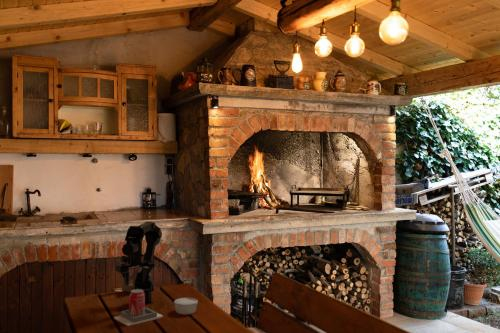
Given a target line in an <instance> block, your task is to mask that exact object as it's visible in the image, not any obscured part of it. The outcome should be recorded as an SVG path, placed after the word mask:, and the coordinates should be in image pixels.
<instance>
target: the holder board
mask: <svg viewBox="0 0 500 333" xmlns="http://www.w3.org/2000/svg"><path fill="white" fill-rule="evenodd" d="M162 318H164V315H162V314H161V313H158V312H157V311H155V310H153V309H151V308H148V307H147V306H145V312H144V315H141V316H137V317H133V316H131V315H129V309H126V310H125V309H124V310H121V311H120V315H116V316H114V317H113V319H114V320H115V321H117V322H120V323H121V324H123V325H125V326H126V327H131V326H135V325H138V324H143V323H146V322H147V323H148V322H150V321H155V320H158V319H162Z"/></svg>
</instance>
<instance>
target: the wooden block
mask: <svg viewBox="0 0 500 333" xmlns="http://www.w3.org/2000/svg"><path fill="white" fill-rule="evenodd" d="M126 265H130V264H126ZM141 270H142V267H139V268H136V270H134V271H133V272H132V273H131V269H129V270H128V271H127V272H129V279H128V286H126V284H125V281H124V280H123V284H121V292H125V293H126V292H127V293H131V290H134V289H135V285H134V282H135V279H136V276H137V273H138V272H140V271H141ZM131 280H132V283H131Z"/></svg>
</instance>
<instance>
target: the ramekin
mask: <svg viewBox="0 0 500 333" xmlns="http://www.w3.org/2000/svg"><path fill="white" fill-rule="evenodd" d="M198 303H199V301H198V299H196V298H193V297H180V298H177V299H174V302H173V304H174V307H175V308H174V310H175V313H177V314H178V315H184V316H185V315H192V314H194V313H195V312H196V311H197V307H198Z"/></svg>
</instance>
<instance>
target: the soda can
mask: <svg viewBox="0 0 500 333" xmlns="http://www.w3.org/2000/svg"><path fill="white" fill-rule="evenodd" d="M143 291H144V290H142V289H134V290H131V292H129V297H128V310H129V315H131V316H133V317H137V316H141V315H144V312H145V307H146V304H145V293H144V292H143Z"/></svg>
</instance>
